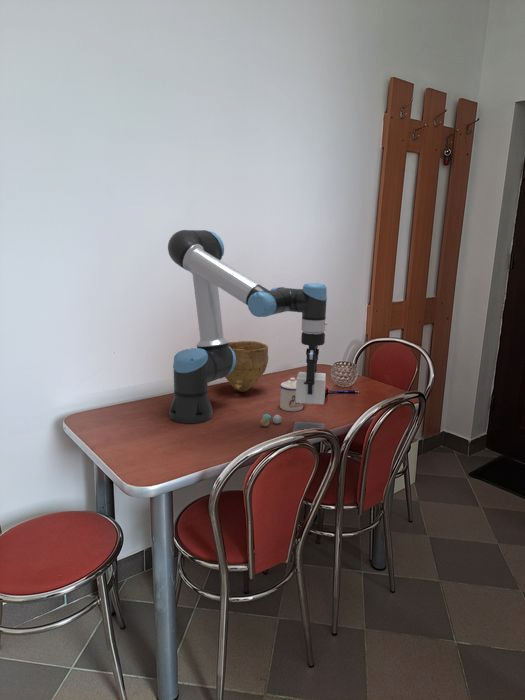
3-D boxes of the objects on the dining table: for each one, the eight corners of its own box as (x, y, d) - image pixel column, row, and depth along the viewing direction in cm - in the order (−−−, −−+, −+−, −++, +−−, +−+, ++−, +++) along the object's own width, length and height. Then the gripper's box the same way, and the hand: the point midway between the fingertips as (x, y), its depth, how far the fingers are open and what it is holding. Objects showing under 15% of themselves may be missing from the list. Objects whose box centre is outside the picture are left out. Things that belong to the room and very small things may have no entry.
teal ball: (261, 423, 174) (261, 415, 173) (263, 420, 177) (263, 412, 176) (270, 424, 173) (270, 416, 173) (271, 421, 176) (271, 413, 176)
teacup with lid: (290, 413, 184) (291, 382, 182) (274, 406, 191) (275, 377, 189) (314, 407, 191) (315, 377, 189) (298, 401, 198) (299, 372, 196)
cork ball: (259, 427, 170) (260, 419, 170) (261, 424, 173) (261, 415, 173) (268, 428, 170) (269, 419, 169) (270, 424, 173) (270, 416, 172)
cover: (295, 402, 164) (296, 378, 162) (298, 394, 173) (299, 371, 171) (323, 404, 163) (324, 380, 161) (324, 396, 171) (325, 373, 169)
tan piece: (208, 395, 203) (208, 346, 199) (230, 382, 221) (230, 337, 217) (255, 402, 195) (256, 352, 191) (274, 388, 214) (276, 342, 209)
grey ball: (272, 424, 173) (272, 416, 173) (273, 421, 176) (273, 413, 175) (280, 425, 173) (281, 416, 172) (281, 422, 176) (282, 413, 175)
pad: (292, 433, 166) (292, 432, 166) (295, 422, 176) (295, 421, 176) (323, 435, 164) (323, 434, 164) (324, 424, 174) (324, 423, 174)
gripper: (323, 339, 152) (320, 410, 156) (326, 326, 172) (323, 389, 177) (298, 337, 153) (296, 408, 158) (304, 325, 174) (302, 388, 179)
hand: (310, 398), depth 168 cm, fingers closed on cover, 9 cm apart
